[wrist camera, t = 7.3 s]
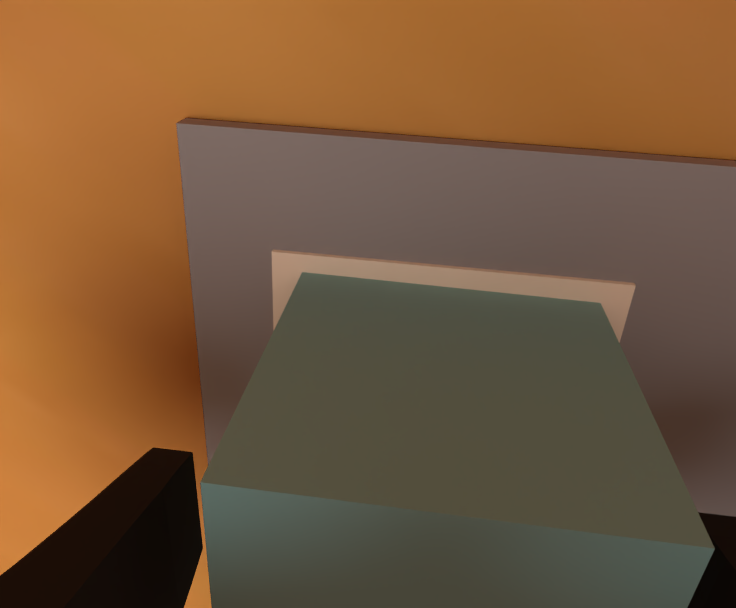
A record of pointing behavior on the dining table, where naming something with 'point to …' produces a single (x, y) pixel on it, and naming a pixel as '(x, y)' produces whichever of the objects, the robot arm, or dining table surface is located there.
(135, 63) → the dining table surface
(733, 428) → the tray
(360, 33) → the dining table surface
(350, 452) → the teal cube
